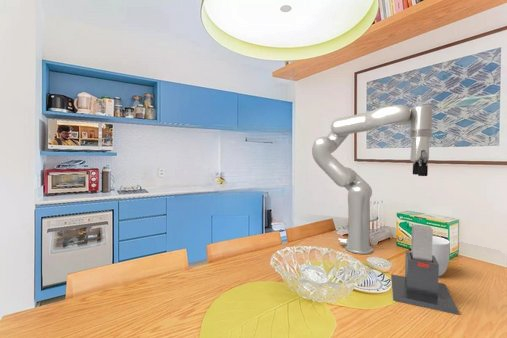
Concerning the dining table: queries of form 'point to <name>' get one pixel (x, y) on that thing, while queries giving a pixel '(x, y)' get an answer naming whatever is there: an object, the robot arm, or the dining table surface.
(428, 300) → the stand
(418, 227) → the post
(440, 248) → the mug
